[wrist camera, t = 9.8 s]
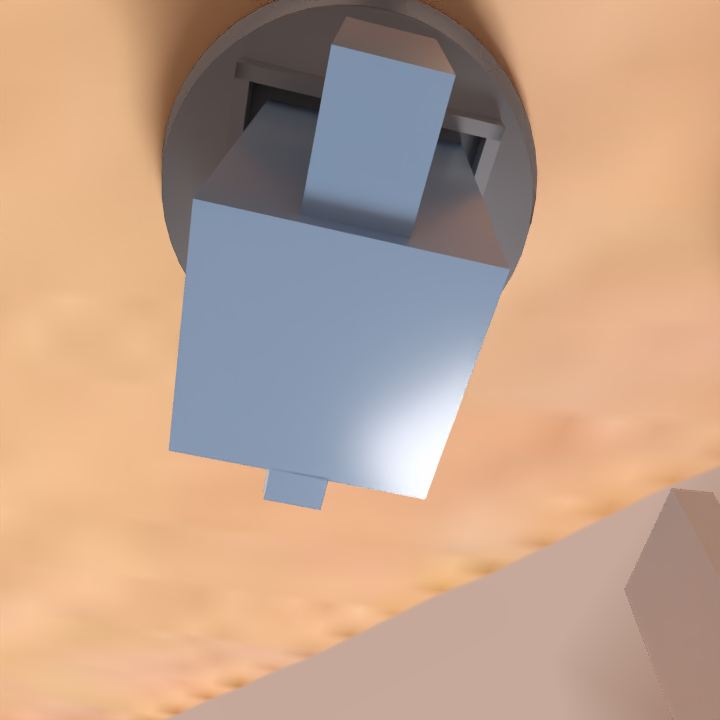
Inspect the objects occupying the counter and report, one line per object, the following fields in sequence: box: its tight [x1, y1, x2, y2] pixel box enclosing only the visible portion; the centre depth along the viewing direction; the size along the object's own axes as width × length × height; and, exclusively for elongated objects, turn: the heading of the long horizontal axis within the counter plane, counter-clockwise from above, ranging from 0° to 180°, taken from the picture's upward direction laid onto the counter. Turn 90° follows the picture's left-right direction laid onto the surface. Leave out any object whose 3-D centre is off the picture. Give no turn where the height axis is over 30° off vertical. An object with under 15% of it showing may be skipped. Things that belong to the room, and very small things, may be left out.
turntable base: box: [162, 0, 537, 228], centre depth 28 cm, size 15×15×1 cm
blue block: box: [169, 17, 510, 510], centre depth 21 cm, size 7×12×11 cm, turn 167°
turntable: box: [162, 4, 533, 492], centre depth 26 cm, size 14×19×4 cm
